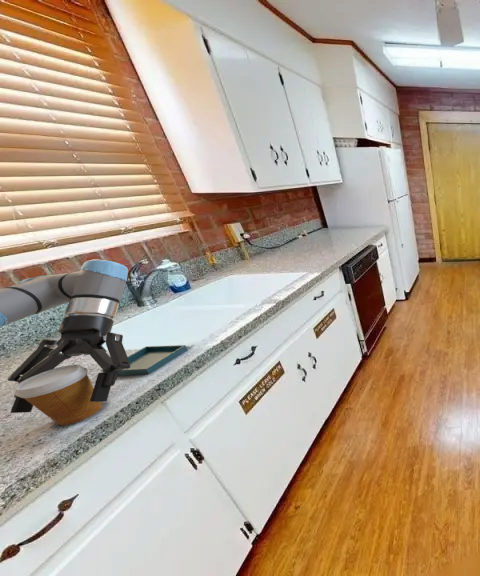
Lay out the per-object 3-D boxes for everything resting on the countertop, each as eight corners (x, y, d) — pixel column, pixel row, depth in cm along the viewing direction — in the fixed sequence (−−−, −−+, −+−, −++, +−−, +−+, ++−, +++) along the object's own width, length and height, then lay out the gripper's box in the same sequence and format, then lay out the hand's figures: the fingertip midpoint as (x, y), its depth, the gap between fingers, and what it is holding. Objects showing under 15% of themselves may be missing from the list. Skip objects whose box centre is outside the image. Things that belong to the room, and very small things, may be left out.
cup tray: (105, 376, 84) (101, 370, 83) (149, 351, 95) (146, 346, 94) (149, 374, 85) (146, 369, 84) (188, 350, 96) (185, 345, 95)
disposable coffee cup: (71, 408, 73) (38, 370, 69) (123, 396, 77) (96, 359, 72) (33, 438, 65) (-7, 397, 61) (93, 423, 69) (60, 383, 64)
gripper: (163, 316, 81) (144, 397, 73) (44, 328, 75) (10, 416, 68) (136, 308, 74) (111, 396, 67) (2, 320, 68) (-41, 417, 61)
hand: (60, 406), depth 67 cm, fingers open, 13 cm apart
